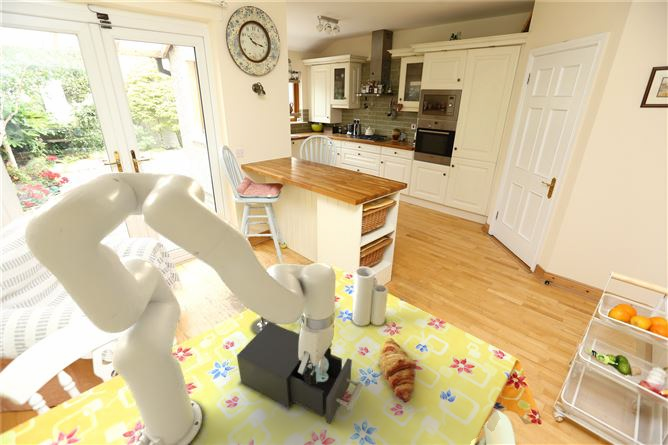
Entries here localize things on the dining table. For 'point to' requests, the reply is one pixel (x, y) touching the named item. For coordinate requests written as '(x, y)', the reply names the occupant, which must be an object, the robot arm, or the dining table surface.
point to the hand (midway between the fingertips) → (317, 369)
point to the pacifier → (321, 370)
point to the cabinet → (270, 362)
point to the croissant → (397, 369)
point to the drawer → (325, 389)
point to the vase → (368, 298)
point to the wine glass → (260, 325)
